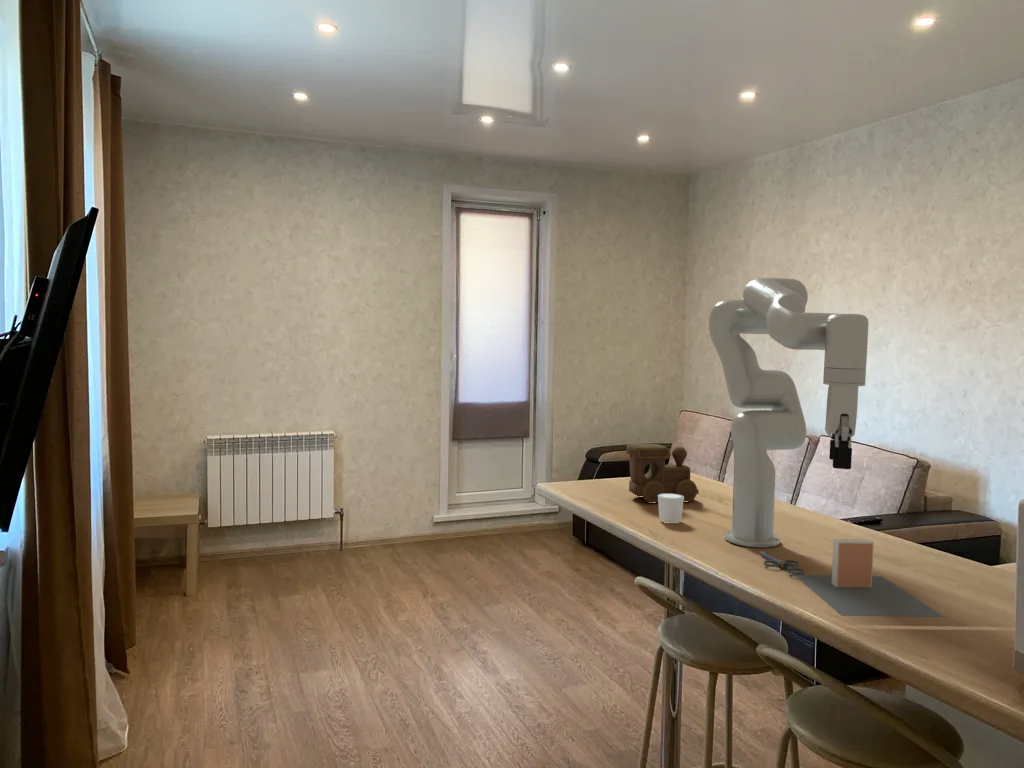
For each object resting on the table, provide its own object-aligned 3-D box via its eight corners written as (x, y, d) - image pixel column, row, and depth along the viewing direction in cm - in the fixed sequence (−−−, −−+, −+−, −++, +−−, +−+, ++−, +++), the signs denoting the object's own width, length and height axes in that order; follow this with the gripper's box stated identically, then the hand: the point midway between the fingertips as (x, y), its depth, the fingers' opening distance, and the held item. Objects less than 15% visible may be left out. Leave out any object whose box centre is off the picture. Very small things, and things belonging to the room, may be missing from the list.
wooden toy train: (637, 505, 216) (639, 448, 215) (623, 497, 227) (624, 443, 226) (701, 503, 220) (703, 447, 219) (684, 495, 231) (685, 441, 230)
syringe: (772, 553, 169) (773, 546, 169) (817, 577, 152) (817, 568, 152) (741, 554, 168) (741, 547, 168) (782, 578, 150) (782, 569, 150)
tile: (831, 583, 148) (833, 538, 147) (866, 583, 148) (868, 539, 147) (836, 587, 146) (838, 542, 145) (872, 587, 146) (874, 542, 145)
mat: (794, 577, 153) (794, 574, 153) (881, 578, 153) (881, 576, 153) (841, 618, 131) (841, 615, 131) (943, 619, 131) (943, 616, 131)
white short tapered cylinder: (655, 523, 196) (656, 497, 195) (658, 517, 202) (659, 491, 202) (681, 525, 193) (682, 499, 193) (684, 519, 200) (685, 494, 199)
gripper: (821, 374, 154) (817, 455, 156) (826, 379, 138) (821, 470, 140) (860, 375, 152) (856, 458, 153) (870, 381, 136) (865, 473, 137)
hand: (839, 464), depth 146 cm, fingers open, 9 cm apart
